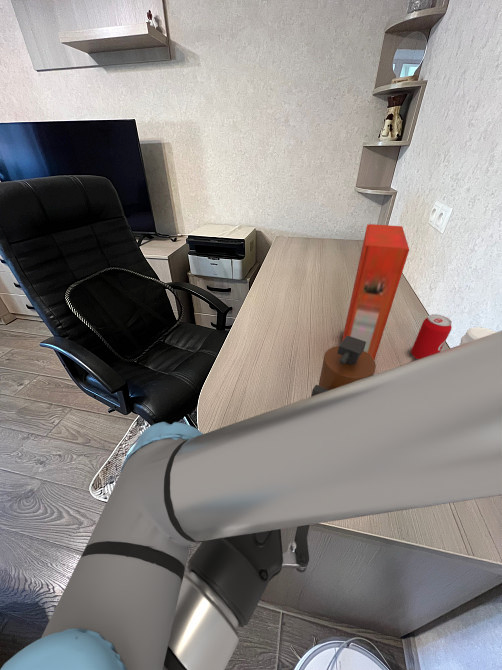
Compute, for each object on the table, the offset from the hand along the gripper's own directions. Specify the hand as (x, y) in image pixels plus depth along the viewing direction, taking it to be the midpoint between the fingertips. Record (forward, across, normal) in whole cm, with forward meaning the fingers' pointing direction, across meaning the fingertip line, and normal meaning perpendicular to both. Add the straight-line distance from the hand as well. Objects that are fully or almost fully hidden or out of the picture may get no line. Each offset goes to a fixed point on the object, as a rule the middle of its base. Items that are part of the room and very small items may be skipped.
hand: (316, 426), depth 42 cm
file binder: (+39, -4, -13) cm, 41 cm away
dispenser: (+12, 0, -13) cm, 17 cm away
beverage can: (+47, +12, -13) cm, 50 cm away
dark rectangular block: (+5, 0, -2) cm, 6 cm away
